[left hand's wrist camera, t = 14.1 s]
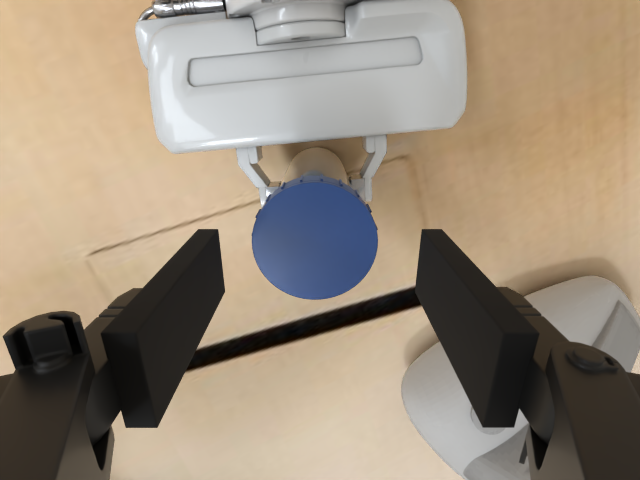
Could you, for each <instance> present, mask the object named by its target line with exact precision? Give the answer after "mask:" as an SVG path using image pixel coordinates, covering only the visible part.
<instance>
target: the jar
mask: <svg viewBox="0 0 640 480" xmlns="http://www.w3.org/2000/svg"><path fill="white" fill-rule="evenodd" d="M321 174H323V176H326V177H330V178H334V179H336V180H339V179H341V180H342V182H343V183H345V184H347V185H348V186H350V187H351V188H352V186H351V183H350V181H349V178H348V176H347V173H346V171H345V169H344V166H343V164H342V162H341V160H340V159H339V158H338V156H337V155H336V154H334V153H333V152H331V151H330V150H328V149H325V148H321V147H312V148H307V149H305V150H303V151H301V152H299V153H298V154H297V155H296V156H295V157H294V158H293V160H292V161H291V163H290V165H289V167H288V169H287V171H286V173H285V176H284V178H283V180H282V182H281V184H280V186H282V184H283V182H285V183H287V182H289V181H291V180H293V179H296V178H300V177H301V175H303V177H304V176H320V175H321ZM280 186H279V187H280ZM352 189H353V188H352Z"/></svg>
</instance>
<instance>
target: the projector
mask: <svg viewBox="0 0 640 480" xmlns="http://www.w3.org/2000/svg"><path fill="white" fill-rule="evenodd" d="M524 298H525V299H526V300H527V301H528V302H529V303H530V304H531V305H533V308H536V309H537V310H538V311H539V312H540V313H541V316H544V317H545V318H546V319H547V320H548V321H549V322H550V323H551V324H552V325H553V326H554V327H555V328H556V329H557V330H558V331H559V332H561V333H562V334H563V335H564V336H565V337H566V338H567V339H568V340H569V341H570V342H579V343H583V344H586V345H589V346H593V347H595V348H597V349H599V350H601V351H603V352H606V353H607V354H609V355H610V356H612V357H613V358H614V359H616V360H617V361H618V362H619V363H620V364H621V365H622V367H623V368H624V369H625V371H626V372H631V370H632V368H633V365H634V363H635V360H636V358H637V355H638V353H639V350H640V318H639V316H638V314H637V312H636V310H635V308H634V307H633V305H632V303H631V302H630V300H629V299H628V297H627V296H626V295H625V293H624V292H623V291H622V290H621V289H620V288H619V287H618V286H617V285H616V284H615V283H613V282H611V281H610V280H608V279H605V278H603V277H599V276H583V277H578V278H575V279H571V280H568V281H564V282H561V283H558V284H555V285H552V286H550V287H547V288H544V289H541V290H539V291H536V292H534V293H531V294H529V295H526V296H524ZM401 393H402V399H403V403H404V406H405V409H406V411H407V414H408V416H409V418H410V420H411V422H412V423H413V425H414V426H415V428H416V429H417V431H418V432H419V433H420V435H421V436H422V437H423V438H424V440H425V441H426V442H427V443H428V444H429V446H430V447H431V448H432V449H433V450H434V451H435V452H436V453H437V454H438V456H439V457H440V458H441V459H442V460H443V461H444V462H445V463H446V464H447V465H448V466H449V467H451V468H452V469H453V470H454V471H455V472H456V473H457V474H458V475H460V476H461V477H462V478H464V479H465V480H531V478H530V470H529V462H528V456H527V457H526V460H525V463H524V464H521V463H519V459H520V454H521V450H522V447H523V443H524V440H525V436H526V433H527V430H528V426H529V422H528V421H527V419H526V418H525V416H524V415H523V413H522V412H521V410H520V409H519V412H518V415H517V419H516V423H515V426H514V428H483V427H482V425H481V423H480V421H479V419H478V417H477V415H476V413H475V411H474V409H473V407H472V405H471V403H470V401H469V399H468V397H467V395H466V393H465V391H464V389H463V387H462V385H461V383H460V381H459V379H458V377H457V375H456V373H455V371H454V369H453V367H452V365H451V363H450V361H449V359H448V357H447V355H446V353H445V351H444V349H443V347H442V345H441V343H440V341H439V342H437V343H436V344H435V345H433V346H432V347H430V348H429V349H428V350H426V351H425V352H424V353H422V354H421V355H420V356H419V357H418V358H417V359H416V360H415V361H414V362H413V363H412V364H411V365H410V366H409V368H408V369H407V371H406V372H405V374H404V377H403V380H402V385H401Z"/></svg>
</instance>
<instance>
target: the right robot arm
mask: <svg viewBox="0 0 640 480" xmlns="http://www.w3.org/2000/svg"><path fill="white" fill-rule="evenodd" d="M153 14H155V16H156V17H157V18H158V19H148V18H149V17H150V16H152V15H153ZM185 15H187V16H185ZM147 19H148V20H147ZM135 32H136V38H137V42H138V46H139V51H140V55H141V58H142V61H143V63H144V65H145V67H146V69H147V70H148V80H149V92H150V100H151V108H152V114H153V120H154V126H155V131H156V135H157V138H158V140H159V141H160V143H161V144H163V145H164V146H165V147H166V148H167V149H168V150H169V151H170V152H171V153H173V154H181V153H192V152H202V151H213V150H224V149H235V148H236V152H237V158H238V164H239V166H240V168H241V169H242V170H243V171H244V173H245V174H246V175H247V176H248V178H249V179H250V180H251V181H252V183H253V184H254V185H255V186H256V188H259V194H260V201H261V207H263V205H264V203H265V202H266V201H265V200H266V199H267V197H268V195H269V194H272V193H273V192H274V191H275V190H276V189H278V188H279V186H280V184H281V181H278V182H270V180H269V179H268V177H267V176H266V175H265V173H264V172H263V170H262V169H261V168H260V166H259V165H258V164H257V163H258V162H259V161H260V160H261V159H262V158H263V157H262V149H261V146H267V145H278V144H288V143H299V142H310V141H320V140H331V139H342V138H353V137H362V140H363V149H364V150H365V151H366V152H368V153H369V155H368V157H367V159H366V161H365V163H364V165H363V167H362V169H361V171H360V174H355V175H349V181H350V183H351V186H352V188H353V189H354V190H357V191H358V193H359V195H360V196H361V198H362V199H363V200H364V202H366V201H372V180H371V178H372V177H374V175H375V173H376V171H377V169H378V167H379V166H380V164H381V162H382V160H383V158H384V156H385V154H386V152H387V135H386V134H396V133H406V132H417V131H428V130H438V129H449V128H452V127H454V126H455V124H456V123H457V122H458V120H459V119H460V118H461V116H462V115H463V113H464V112H465V109H466V101H467V54H466V42H465V31H464V26H463V21H462V18H461V15H460V13H459V11H458V9H457V8H456V6H455V5H454V4H453V3H452V2H451V1H450V0H153V1H152V6H151V7H149V8H147V9H146V10H144V11H143V12H142V14H141V15H140V17H139V19H138V21H137V23H136V27H135Z"/></svg>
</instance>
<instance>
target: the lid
mask: <svg viewBox="0 0 640 480" xmlns="http://www.w3.org/2000/svg"><path fill="white" fill-rule="evenodd" d="M265 201H266V202H265V203H264V205H263V207H262V209H260V210H259V211H258V213H257V215H256V217H255V218H257V219H256V221H255V224H254V228H253V233H252V249H253V253H254V257H255V260H256V263H257V265H258V267H259V268H260V270H261V272H262V273H263V274H264V276H265V277H266V278H267V279H268V280H269V281H270V282H271V283H272V284H273V285H274V286H275V287H277V288H278V289H280V290H282V291H283V292H285V293H287V294H289V295H292V296H295V297H299V298H303V299H327V298H331V297H335V296H338V295H340V294H343V293H345V292H347V291H349V290H350V289H352V288H353V287H354V286H356V285H357V284H358V283H359V282H360V281H361V280H362V279H363V278H364V277H365V276H366V274H367V273H368V271H369V270H370V268H371V266H372V264H373V262H374V259H375V256H376V252H377V246H378V236H377V230H378V229H377V227H376V224H375V222H374V220H373V217H372V215H371V212H372V211H371V209H370V207H369V205H368V204H365V202H364V200H363V199H362V198H361V196H360V195H359V193H358V191H357V190H354V189H352V188H351V187H350V186H348V185H347V184H345V183H343V182H342V180H341V179H339V180H336V179H334V178H330V177H326V176H323V174H321V175H320V176H304V177H303V175H301V177H300V178H296V179H293V180H291V181H289V182H287V183H285V182H283V184H282V186H280V187H279V188H278V189H276V190H275V191H274V192H273V193H272V194H269V195H268V197H267V199H266V200H265Z"/></svg>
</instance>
